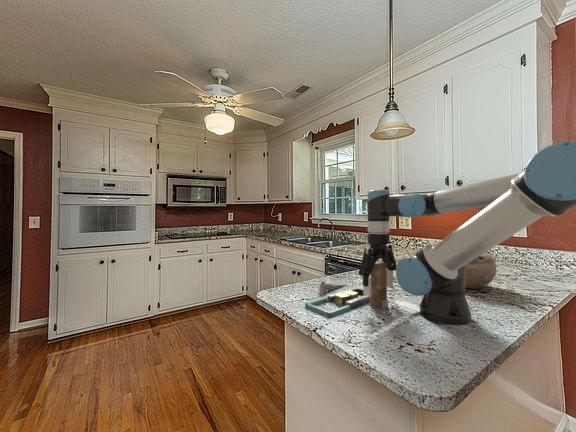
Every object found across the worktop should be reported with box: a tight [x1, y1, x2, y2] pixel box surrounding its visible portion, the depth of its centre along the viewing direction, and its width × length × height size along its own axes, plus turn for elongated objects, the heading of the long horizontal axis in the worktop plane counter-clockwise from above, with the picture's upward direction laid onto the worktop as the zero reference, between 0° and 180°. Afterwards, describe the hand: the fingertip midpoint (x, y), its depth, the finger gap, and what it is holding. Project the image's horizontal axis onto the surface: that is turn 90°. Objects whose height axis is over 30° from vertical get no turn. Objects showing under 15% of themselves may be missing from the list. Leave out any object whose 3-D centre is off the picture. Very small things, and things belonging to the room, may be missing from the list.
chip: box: [344, 291, 358, 300], centre depth 104 cm, size 4×4×3 cm
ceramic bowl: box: [465, 252, 498, 289], centre depth 125 cm, size 22×22×15 cm
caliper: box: [318, 280, 348, 295], centre depth 120 cm, size 20×1×6 cm, turn 131°
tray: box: [305, 296, 351, 318], centre depth 97 cm, size 12×10×2 cm
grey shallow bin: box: [326, 286, 371, 310], centre depth 106 cm, size 12×17×3 cm
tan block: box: [334, 293, 350, 306], centre depth 102 cm, size 4×4×3 cm
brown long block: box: [369, 261, 389, 310], centre depth 98 cm, size 6×4×17 cm, turn 38°
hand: (378, 291), depth 98 cm, fingers open, 13 cm apart
